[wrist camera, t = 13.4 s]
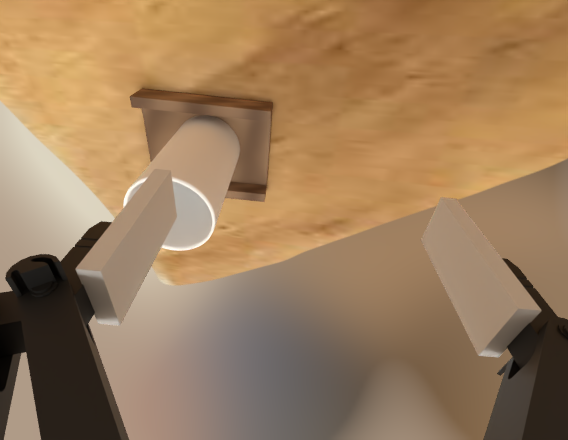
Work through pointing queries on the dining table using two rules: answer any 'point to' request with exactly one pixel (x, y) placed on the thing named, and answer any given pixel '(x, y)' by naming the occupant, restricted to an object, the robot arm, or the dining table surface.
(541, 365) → the robot arm
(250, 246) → the dining table surface
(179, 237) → the cup
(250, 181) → the brown wooden tray
